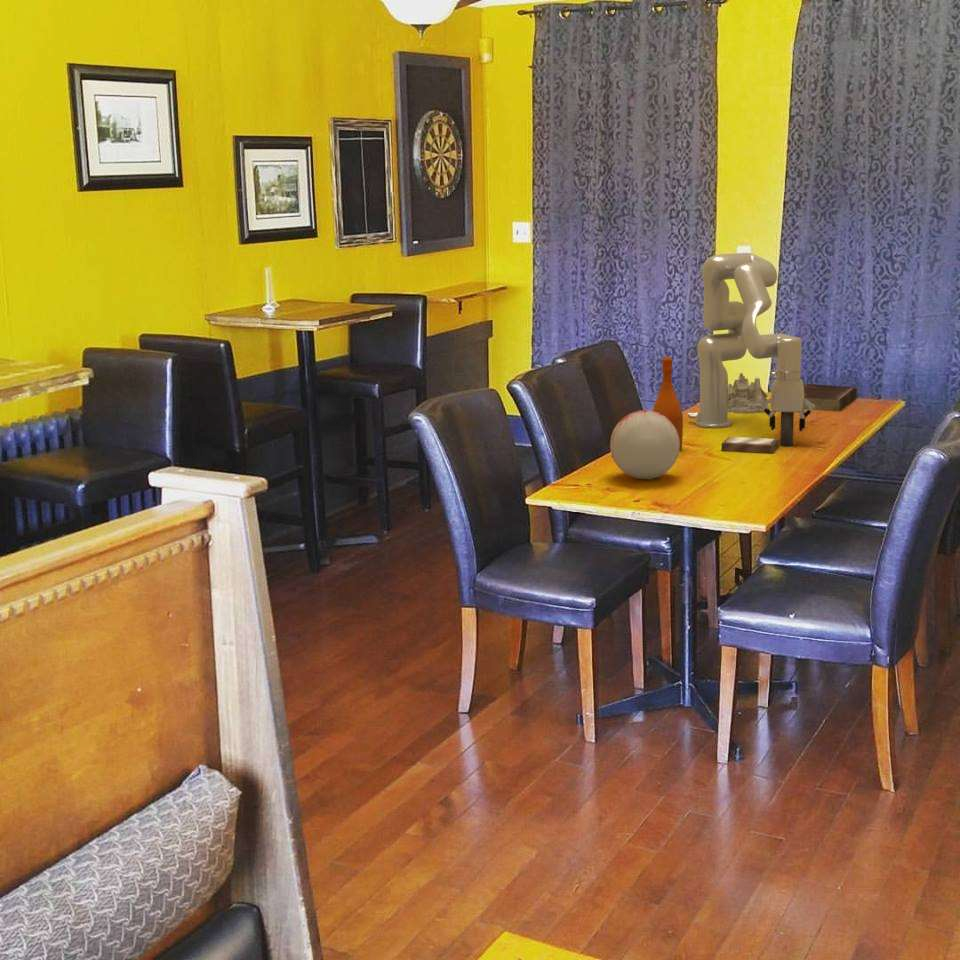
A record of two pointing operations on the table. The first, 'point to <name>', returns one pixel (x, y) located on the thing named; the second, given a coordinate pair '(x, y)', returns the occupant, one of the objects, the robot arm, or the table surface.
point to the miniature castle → (746, 396)
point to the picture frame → (750, 445)
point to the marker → (787, 429)
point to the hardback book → (829, 396)
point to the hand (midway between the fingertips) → (787, 429)
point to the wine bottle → (669, 399)
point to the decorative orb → (644, 444)
